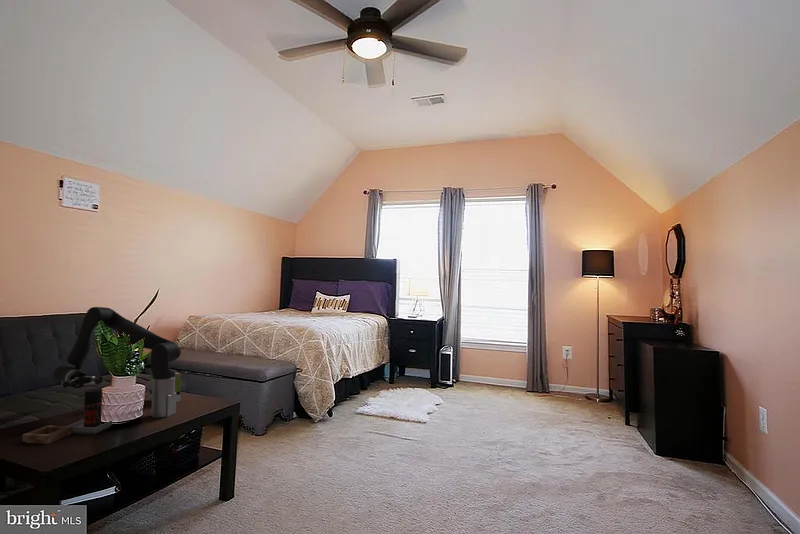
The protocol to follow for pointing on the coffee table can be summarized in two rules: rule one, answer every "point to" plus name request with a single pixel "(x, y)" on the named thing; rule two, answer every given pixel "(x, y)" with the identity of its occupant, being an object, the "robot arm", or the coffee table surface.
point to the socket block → (46, 434)
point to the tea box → (177, 385)
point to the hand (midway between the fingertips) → (87, 383)
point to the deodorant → (92, 407)
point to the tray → (88, 428)
